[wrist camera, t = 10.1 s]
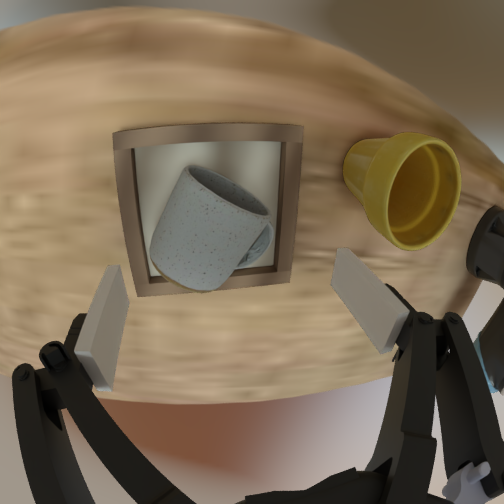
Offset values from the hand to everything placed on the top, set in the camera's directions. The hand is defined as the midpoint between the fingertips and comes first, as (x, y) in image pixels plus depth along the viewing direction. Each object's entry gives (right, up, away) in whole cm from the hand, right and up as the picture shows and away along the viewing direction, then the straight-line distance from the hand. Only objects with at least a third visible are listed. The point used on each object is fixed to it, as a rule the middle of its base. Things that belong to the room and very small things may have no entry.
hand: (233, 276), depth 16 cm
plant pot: (+14, +11, +12) cm, 21 cm away
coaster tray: (-3, +6, +10) cm, 12 cm away
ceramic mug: (-2, +5, +10) cm, 11 cm away
